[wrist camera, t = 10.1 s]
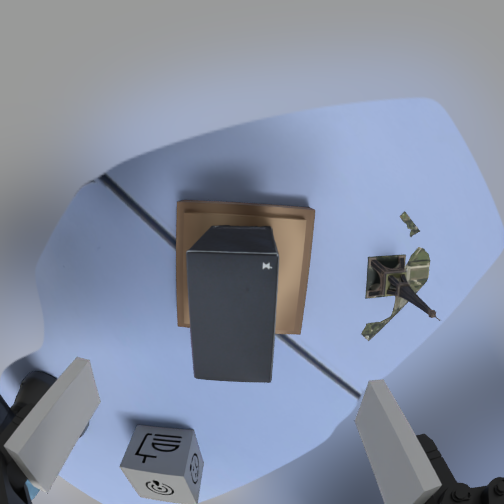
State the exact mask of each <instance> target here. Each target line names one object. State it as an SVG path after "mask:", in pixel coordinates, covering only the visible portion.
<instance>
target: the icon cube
mask: <svg viewBox="0 0 504 504" xmlns="http://www.w3.org/2000/svg"><path fill="white" fill-rule="evenodd" d="M203 466H204V462H203V458H202V455H201V452H200V449H199V445H198V442H197V439H196V435H195V432H194V430H189V429H174V428H163V427H153V426H145V425H137V426H136V429H135V431H134V433H133V436H132V438H131V440H130V443H129V445H128V448H127V450H126V452H125V455H124V457H123V459H122V462H121V464H120V468H121V470H122V471H123V473H124V474H125V476H126V477H127V479H128V480H129V482H130V483H131V485H132V486H133V488H134V489H135V491H136V492H137V493H138V495H139V496H140V497H142V498H148V499H153V500H159V501H166V502H173V503H181V504H198V497H199V491H200V484H201V478H202V472H203Z"/></svg>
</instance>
